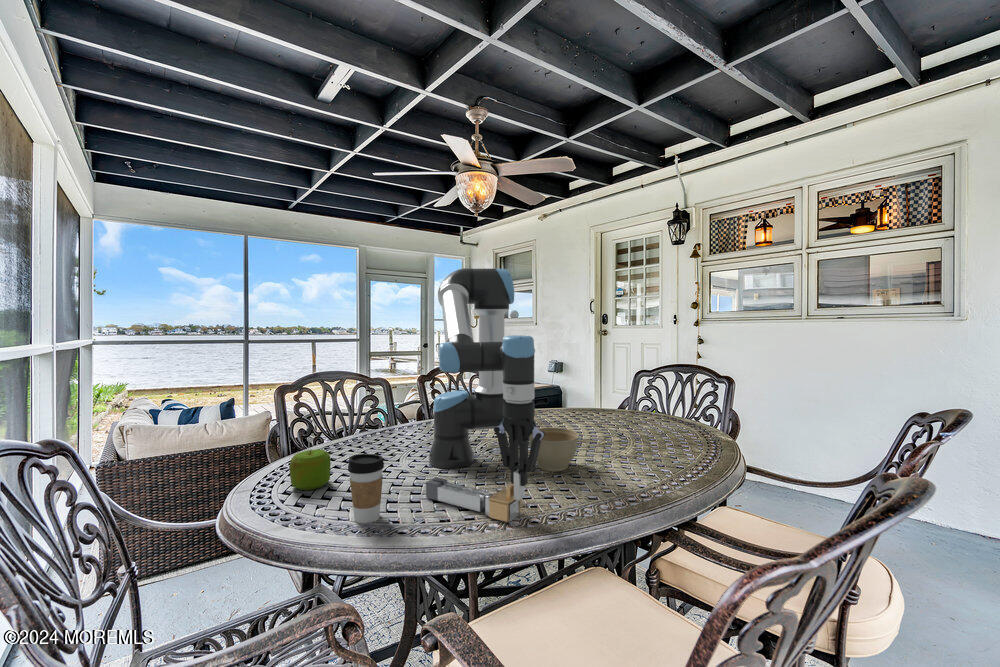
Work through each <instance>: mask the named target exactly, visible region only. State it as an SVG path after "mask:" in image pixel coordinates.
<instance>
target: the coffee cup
mask: <svg viewBox="0 0 1000 667" xmlns="http://www.w3.org/2000/svg"><path fill="white" fill-rule="evenodd" d="M384 467H385V462H384V457H383V456H382V455H379V454H374V453H360V454H353V455H351V456H349V458H348V465H347V471H348V472H349V476H350V477H349V484H350V492H351V502H352V509H353V518H354V521H355V522H356V523H357V524H370V523H373V522H375V521H377V519H378V520H379V519H380V515H381V504H382V503H381V502H382V492H383V491H382V489H383V479H384V478H383V477H384V476H383V469H384Z"/></svg>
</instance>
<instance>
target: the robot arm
mask: <svg viewBox="0 0 1000 667" xmlns="http://www.w3.org/2000/svg"><path fill="white" fill-rule="evenodd" d="M437 299H438V303H439V305H440V306H441V307H442V308H441V310H442V320H443V321H442V322H443V331H444V342H441V343H440V344H439V345H438V366H439V370H440V371H441V372H443V373H455V374H457V373H471V372H472V373H473V372H478V385H477V386H476V387H475V388H474V394H469V392H468V390H454V391H453V390H452V391H447V392H442V393H440V394H438V395H436V396H435V398H434V399H433V409H432V412H433V441H432V445H431V449H430V452H429V454H428V455H429V456H428V464H430V466H432V467H435V468H439V469H458V468H465V467H467V466H470V465H471V464H473V463H475V462H474V461H475V453H474V451H473V448H472V445H471V441H470V438H469V436H470V435H469V433H470V432H469V431H470V430H474V431H475V430H476V431H477V430H493V431H494V433H495V435H496V437H497V442H498V447H499V451H500V452H499V453H500V456H501V462H502V466H503V467H504V468H505V469H506V468H507V469H509V471H510V484H514V499H515V500H521V501H522V499H524V498H525V492H526V490H525V489H526V488H525V486H527V485H528V482H529V481H528V473H530V472H532V471H533V470H535V469H536V465H537V457H538V452H539V448H540V444H541V440H542V439H543V437H544V436H545V432H544V431H539V430H538V429H539V428H537V425H536V422H535V413H536V412H535V405H536V404H535V402H534V399H535V398H536V397H535V353H536V349H535V340H534V337H533V336H531V335H518V334H517V335H506V336H505V314H506V313H507V312H508V311H509V310H510V305H513V303H514V302H515V286H514V281H513V278H512V274H511V273H510V271H509V270H508V269H504V268H496V267H495V268H459V269H457V270H454V271H453V272H451V273H450V274H448V275H446V277H445V278H444V279H443V280H442V282H441V283H440V285H439V287H438V290H437ZM468 305H473V308H474V309H473V310H474V311H475V312H476V313H477V314H478V341H476V342H475V341H474V335H473V331H472V325H471V319H470V313H469V309H468ZM532 432H533V438H534V439H533V441H532V444H531V448H530V447H529V437H530V435H531V434H532ZM529 448H530V449H529Z"/></svg>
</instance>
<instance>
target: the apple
mask: <svg viewBox="0 0 1000 667" xmlns="http://www.w3.org/2000/svg"><path fill="white" fill-rule="evenodd" d="M331 460H332V459H331V455H330V453H329V452H328V451H326V449H320V448H317V449H308V450H304V451H301V452H297V453H296V454H294V455H293V456H292V457H291V459H290V462H289V466H288V469H289V477H290V485H291V486H293V487H294V488H296V489H298V490H301V491H313V490H314V491H315V490H317V489H320V488H322V487H324V486H325V485H326V484H327V483H328V482H329V481H331V480H330V479H331V464H332V462H331Z"/></svg>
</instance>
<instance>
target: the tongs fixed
mask: <svg viewBox="0 0 1000 667" xmlns="http://www.w3.org/2000/svg"><path fill="white" fill-rule="evenodd" d="M496 493H497V492H494V493H489V494H487V495H485V508H484V495H481V494H477V493H473V492H469V491H465V490H461V489H457V488H453V487H449V486H444V485H442V483H441V482H437V481H433V480H432V479H430V480H427V481H425V497H426V498H427V499H430V500H435V501H437V502H441V503H446V504H449V505H453V506H457V507H461V508H464V509H468V510H472V511H475V512H483V510H484V511H485V512H484V514H485V515H484V516H488V517H489V498H490V497H491V496H493V495H494V494H496ZM519 513H520V512H519V500H514V501H513V502H511V503H510V504H509V521H508V522H511V521H513V520H514V519H516V517H518V516H520V514H519Z"/></svg>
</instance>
